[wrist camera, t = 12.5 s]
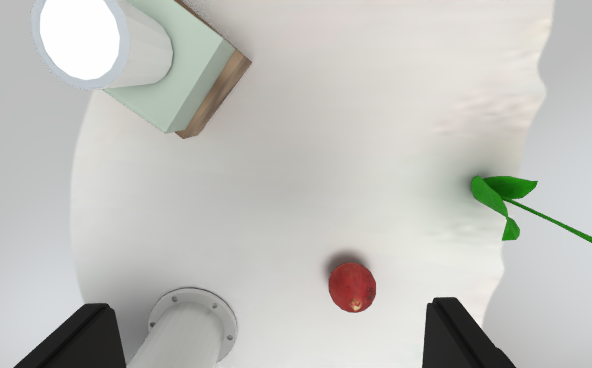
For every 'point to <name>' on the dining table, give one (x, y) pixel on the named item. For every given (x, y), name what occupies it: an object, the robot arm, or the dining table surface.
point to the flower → (509, 200)
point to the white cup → (100, 43)
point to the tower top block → (177, 68)
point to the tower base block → (215, 87)
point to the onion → (352, 287)
